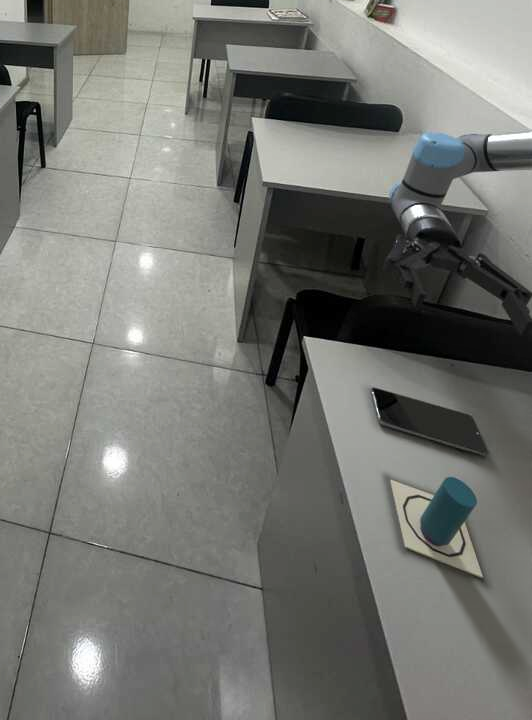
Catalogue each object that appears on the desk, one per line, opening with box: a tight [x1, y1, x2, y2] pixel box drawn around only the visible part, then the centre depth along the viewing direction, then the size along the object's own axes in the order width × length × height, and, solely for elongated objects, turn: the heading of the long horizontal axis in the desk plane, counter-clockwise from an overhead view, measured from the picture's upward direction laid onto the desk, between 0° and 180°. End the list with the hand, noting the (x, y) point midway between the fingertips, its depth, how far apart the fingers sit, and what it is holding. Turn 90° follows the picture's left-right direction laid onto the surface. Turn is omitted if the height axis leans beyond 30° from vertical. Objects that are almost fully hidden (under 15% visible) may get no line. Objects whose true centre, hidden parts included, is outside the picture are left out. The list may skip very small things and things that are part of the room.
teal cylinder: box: [420, 476, 478, 546], centre depth 65 cm, size 4×4×10 cm
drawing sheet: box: [389, 479, 484, 579], centre depth 68 cm, size 9×9×1 cm
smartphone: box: [370, 386, 490, 457], centre depth 82 cm, size 7×1×16 cm
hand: (472, 315), depth 71 cm, fingers open, 13 cm apart
